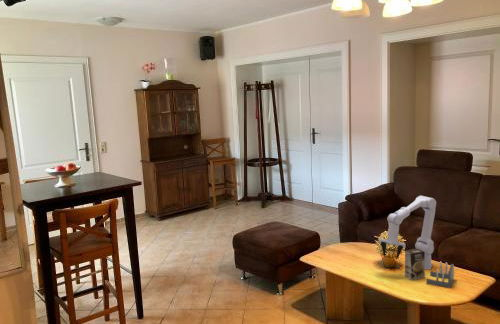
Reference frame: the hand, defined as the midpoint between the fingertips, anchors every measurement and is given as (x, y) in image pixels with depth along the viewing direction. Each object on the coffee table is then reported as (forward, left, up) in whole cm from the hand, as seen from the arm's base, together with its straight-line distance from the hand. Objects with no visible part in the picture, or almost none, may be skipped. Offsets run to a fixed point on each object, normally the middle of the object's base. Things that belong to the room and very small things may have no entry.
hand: (390, 256), depth 239 cm
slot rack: (-3, +26, -12) cm, 28 cm away
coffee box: (-3, +13, -12) cm, 18 cm away
